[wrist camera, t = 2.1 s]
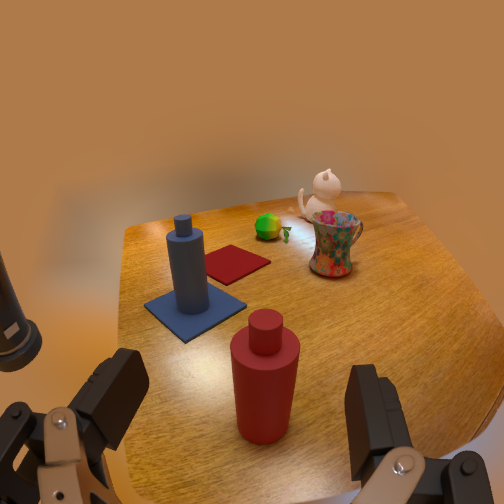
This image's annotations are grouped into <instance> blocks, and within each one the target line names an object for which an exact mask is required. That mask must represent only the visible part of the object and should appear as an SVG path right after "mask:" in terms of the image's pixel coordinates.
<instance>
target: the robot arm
mask: <svg viewBox="0 0 504 504" xmlns="http://www.w3.org/2000/svg"><path fill="white" fill-rule="evenodd" d="M30 337H31V327H30V325H29V323H28V322H27V319H26V318H25V316H24V314H23V311H22V309H21V307H20V305H19V302H18V300H17V297H16V295H15V292H14V290H13V287H12V285H11V282H10V279H9V277H8V274H7V271H6V268H5V265H4V262H3V259H2V256H1V253H0V357H5V356H10V355H12V354H14V353H16V352H18V351H19V350H21V349H22V348H23V347H24V346H25V345H26V344H27V342H28V341H29V339H30ZM148 388H149V377H148V374H147V372H146V369H145V366H144V363H143V360H142V357H141V354H140V352H139V351H137V350H131V349H126V348H119V349H118V350H117V351H116V353H115V354H114V355H113V357H112V358H108V359H106V360H105V361H104V362H102V363H101V364H99V365H98V367H97V368H96V369H95V371H94V372H93V375H91V376H90V377H89V379H88V381H87V382H85V384H84V385H83V386H82V388H81V389H80V390H79V392H78V393H77V395H76V396H75V397H74V399H73V400H72V401H71V403H70V404H69V405H68V407H58V408H54V409H52V410H51V411H50V412H49V413H48V414H42V413H35V412H32V410H31V409H30V408H29V406H28V405H27V404H26V403H24V402H15V403H13V404H11V405H10V406H9V407H8V408H7V409H6V410H5V412H4V413H3V415H2V416H1V417H0V504H38V503H39V501H40V499H41V504H122V503H121V501H120V500H119V498H118V497H117V495H116V493H115V491H114V488H113V484H112V481H111V478H110V474H109V471H108V466H107V463H106V459H105V455H104V453H103V451H104V449H105V447H106V448H109V449H112V450H115V451H116V450H117V448H118V446H119V444H120V442H121V440H122V438H123V436H124V434H125V433H126V431H127V429H128V427H129V425H130V423H131V421H132V419H133V417H134V416H135V414H136V412H137V410H138V408H139V406H140V404H141V403H142V401H143V399H144V397H145V395H146V393H147V391H148ZM401 408H402V407H401V404H400V400H399V397H398V394H397V391H396V388H395V386H394V385H393V384H392V383H391V381H390V380H389V379H388V378H387V377H382V378H378V376H377V373H376V369H375V366H374V365H373V364H366V365H353V366H352V369H351V373H350V377H349V381H348V385H347V389H346V393H345V415H346V423H347V432H348V442H349V452H350V464H351V477H352V481H358V480H361V488H362V489H361V490H360V492H359V493H358V494H357V496H356V497H355V498H354V499H353V501H352V502H351V503H350V504H494V501H493V496H492V491H491V487H490V482H489V478H488V474H487V470H486V467H485V463H484V460H483V459H482V457H481V456H480V455H479V454H478V453H476V452H473V451H462V452H460V453H458V454H457V455H455V456H454V457H453V459H432V458H427V457H424V456H423V455H422V454H421V453H420V452H419V451H418V450H416V449H414V447H413V446H412V443H411V439H410V436H409V432H408V428H407V425H406V421H405V417H404V414H403V411H402V410H401ZM23 444H25V445H26V446H27V447H28V449H29V451H28V452H27V454H26V456H25V457H24V459H23V461H22V462H21V464H20V466H19V468H18V469H17V471H14V469H13V461H14V459H15V457H16V456H17V454H18V453H19V451H20V449H21V448H22V446H23Z"/></svg>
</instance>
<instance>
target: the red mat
mask: <svg viewBox="0 0 504 504" xmlns="http://www.w3.org/2000/svg"><path fill="white" fill-rule="evenodd" d="M270 263H271V260H268V259H266V258H263V257H261V256H258V255H256V254H253V253H251V252H248V251H246V250H243V249H241V248H238V247H236V246H233V245H228V246H226V247H223V248H221V249H218V250H216V251H214V252H211V253H209V254H206V255H205V264H206V274H207V275H208V276H210V277H211V278H213V279H215V280H217V281H219V282H220V283H222V284H224V285H226V286H227V285H229V284H231V283H233V282H235V281H237V280H239V279H241V278H243V277H245V276H247V275H249V274H251V273H252V272H254V271H256V270H258V269H260V268H262V267H264V266H266V265H268V264H270Z"/></svg>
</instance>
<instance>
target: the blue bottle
mask: <svg viewBox="0 0 504 504" xmlns="http://www.w3.org/2000/svg"><path fill="white" fill-rule="evenodd" d="M174 224H175V230H173V231H171V232H169V233H168V234H167V235H166V240H167V247H168V254H169V261H170V268H171V274H172V280H173V286H174V292H175V297H176V303H177V308H178V310H179V311H180V312H182V313H184V314H189V315H194V314H199V313H202V312H204V311H205V310H206V309H207V308H208V307H209V304H210V302H209V293H208V284H207V274H206V264H205V253H204V241H203V232H202V231H201V230H200V229H197V228H192V219H191V216H190V215H179V216H176V217H174Z"/></svg>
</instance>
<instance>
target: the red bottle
mask: <svg viewBox="0 0 504 504" xmlns="http://www.w3.org/2000/svg"><path fill="white" fill-rule="evenodd" d="M248 322H249V326H247V327H245V328H243V329H241V330H240V331H238V332H237V333H236V334H235V335H234V337H233V338H232V341H231V344H230V350H231V362H232V373H233V384H234V394H235V404H236V414H237V424H238V429H239V432H240V433H241V435H242V436H243V437H244V438H245V439H247V440H248V441H250V442H253V443H256V444H270V443H273V442H276V441H278V440H279V439H281V438H282V437H283V436H284V435H285V433H286V431H287V429H288V424H289V418H290V412H291V406H292V400H293V394H294V388H295V381H296V374H297V368H298V360H299V353H300V343H299V340H298V338H297V336H296V335H295V334H294V333H293V332H292V331H290V330H289V329H287V328H285V327H283V317H282V315H281V314H280V313H279V312H277V311H275V310H272V309H259V310H256V311H254V312H253V313H251V314H250V316H249V319H248Z"/></svg>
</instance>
